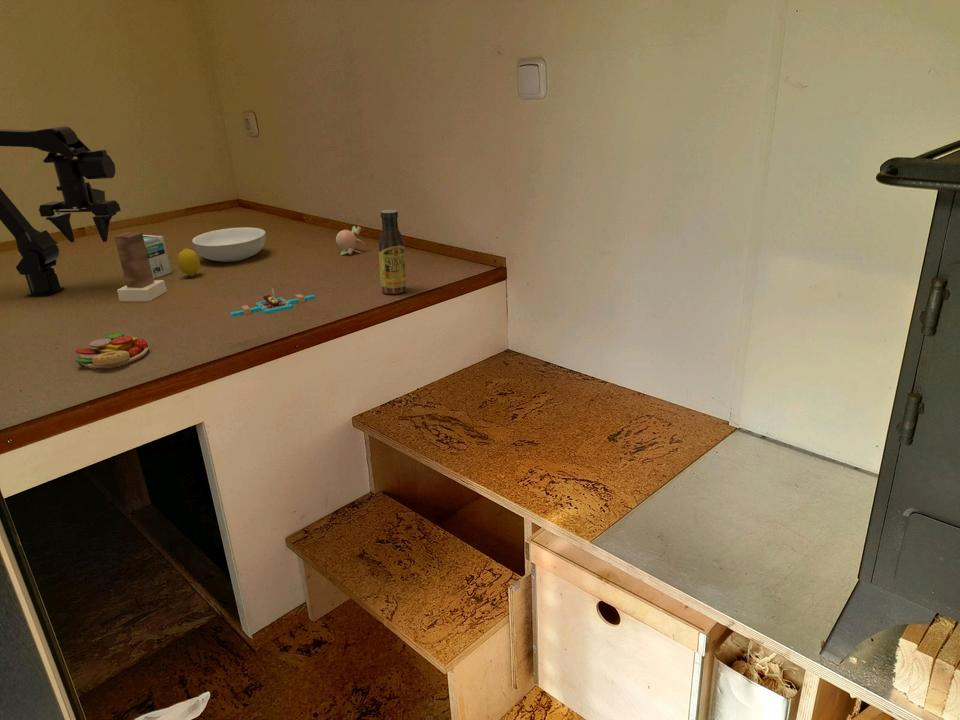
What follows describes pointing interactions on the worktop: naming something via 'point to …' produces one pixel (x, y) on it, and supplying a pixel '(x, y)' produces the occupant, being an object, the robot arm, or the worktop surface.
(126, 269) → the walnut column
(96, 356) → the toy food set
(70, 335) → the worktop surface
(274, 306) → the multicoloured piece
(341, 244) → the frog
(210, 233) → the serving bowl
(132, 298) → the cream plinth
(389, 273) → the sauce bottle
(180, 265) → the lemon
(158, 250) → the light bulb box
